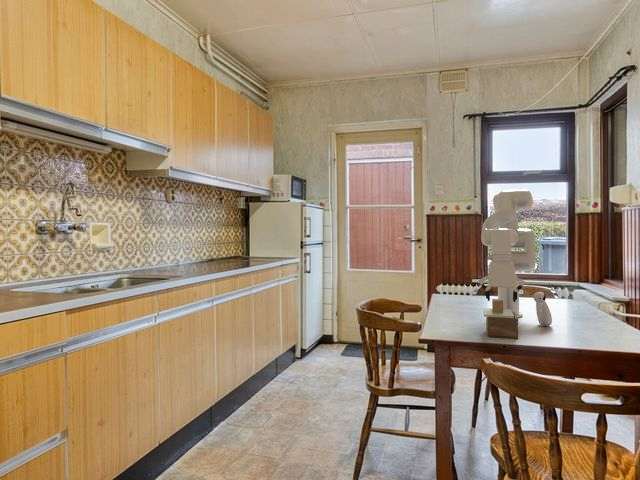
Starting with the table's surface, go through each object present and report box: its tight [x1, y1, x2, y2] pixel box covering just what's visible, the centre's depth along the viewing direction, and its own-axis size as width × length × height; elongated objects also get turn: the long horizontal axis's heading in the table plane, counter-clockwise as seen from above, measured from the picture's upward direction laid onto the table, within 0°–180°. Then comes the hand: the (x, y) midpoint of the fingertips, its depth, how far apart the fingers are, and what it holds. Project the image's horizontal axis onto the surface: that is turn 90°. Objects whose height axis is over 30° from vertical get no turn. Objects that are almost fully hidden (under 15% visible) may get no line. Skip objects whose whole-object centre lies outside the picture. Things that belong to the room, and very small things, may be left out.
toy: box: [533, 291, 553, 327], centre depth 188 cm, size 11×7×15 cm, turn 168°
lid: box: [482, 298, 514, 318], centre depth 176 cm, size 14×11×6 cm
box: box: [485, 312, 519, 340], centre depth 175 cm, size 14×11×8 cm
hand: (501, 301), depth 174 cm, fingers open, 9 cm apart
